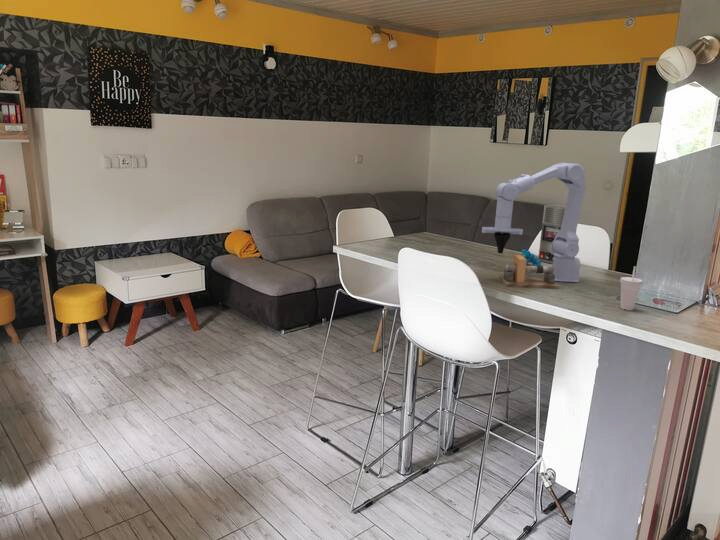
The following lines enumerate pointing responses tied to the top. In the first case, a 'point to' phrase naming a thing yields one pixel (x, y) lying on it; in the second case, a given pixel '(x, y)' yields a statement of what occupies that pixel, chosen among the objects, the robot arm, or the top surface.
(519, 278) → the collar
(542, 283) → the pipe rig
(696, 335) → the top surface
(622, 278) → the smoothie
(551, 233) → the grey boxy piece
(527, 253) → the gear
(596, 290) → the top surface
